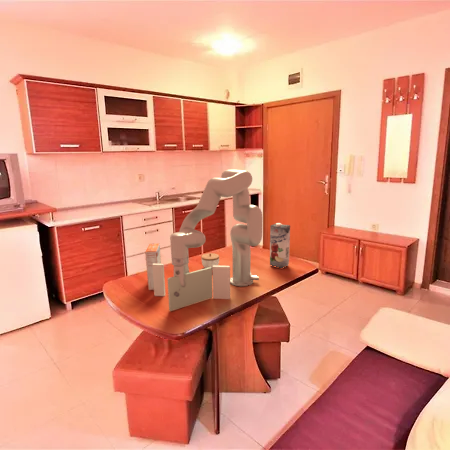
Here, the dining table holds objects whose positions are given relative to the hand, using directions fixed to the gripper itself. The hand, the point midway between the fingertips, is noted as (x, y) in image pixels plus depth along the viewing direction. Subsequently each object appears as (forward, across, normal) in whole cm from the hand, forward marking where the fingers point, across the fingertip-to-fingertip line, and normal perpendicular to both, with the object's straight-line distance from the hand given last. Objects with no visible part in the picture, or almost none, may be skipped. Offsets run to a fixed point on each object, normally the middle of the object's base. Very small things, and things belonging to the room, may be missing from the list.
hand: (182, 297), depth 146 cm
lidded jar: (+4, +46, -5) cm, 47 cm away
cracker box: (+3, +19, +20) cm, 28 cm away
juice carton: (+4, +54, -46) cm, 71 cm away
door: (+2, -1, -5) cm, 6 cm away
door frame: (+3, +7, -3) cm, 8 cm away
